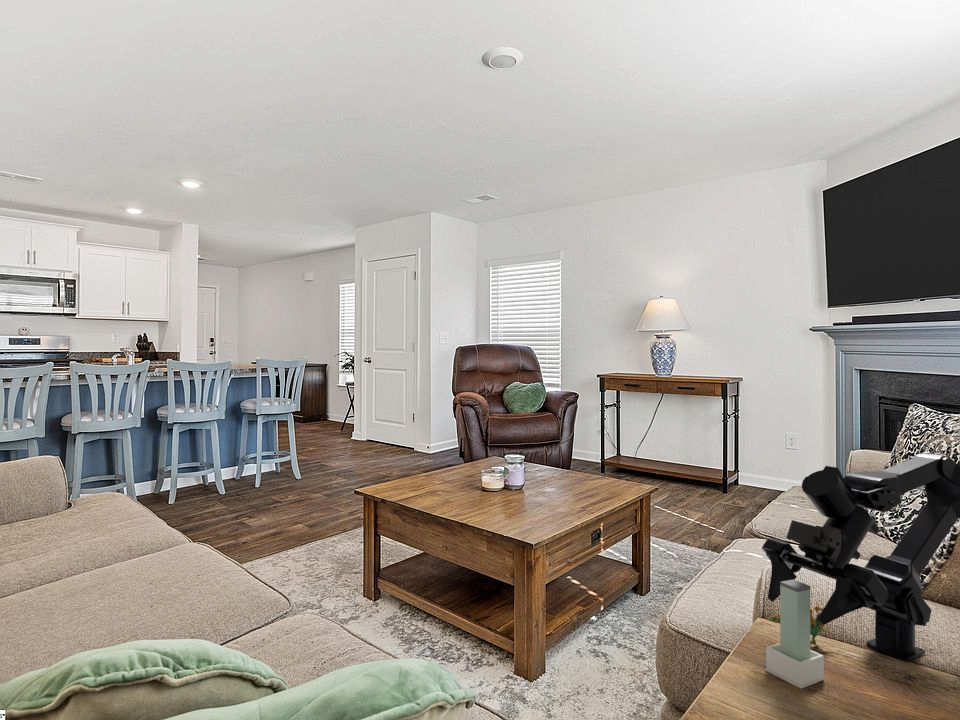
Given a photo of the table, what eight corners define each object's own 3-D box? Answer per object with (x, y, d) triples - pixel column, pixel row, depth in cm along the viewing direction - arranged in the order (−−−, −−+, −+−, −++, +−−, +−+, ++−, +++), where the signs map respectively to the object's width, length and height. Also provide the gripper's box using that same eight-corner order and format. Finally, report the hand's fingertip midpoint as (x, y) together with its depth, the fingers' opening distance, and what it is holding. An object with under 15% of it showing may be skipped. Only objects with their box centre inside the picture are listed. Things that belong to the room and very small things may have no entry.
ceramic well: (788, 662, 93) (788, 639, 93) (823, 679, 88) (823, 655, 88) (766, 670, 90) (766, 647, 91) (800, 688, 85) (800, 663, 85)
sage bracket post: (793, 665, 91) (793, 579, 92) (810, 674, 88) (810, 585, 89) (780, 668, 90) (780, 581, 90) (797, 678, 87) (797, 588, 88)
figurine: (836, 648, 98) (836, 601, 99) (773, 650, 97) (773, 603, 97) (824, 640, 101) (823, 594, 102) (762, 642, 100) (762, 596, 100)
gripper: (769, 492, 101) (722, 560, 96) (875, 517, 83) (823, 602, 79) (800, 532, 103) (756, 600, 99) (909, 564, 86) (861, 649, 81)
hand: (794, 610), depth 89 cm, fingers open, 9 cm apart
